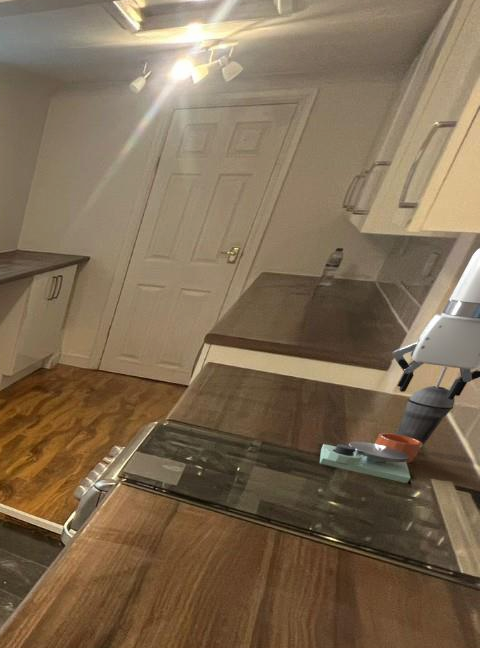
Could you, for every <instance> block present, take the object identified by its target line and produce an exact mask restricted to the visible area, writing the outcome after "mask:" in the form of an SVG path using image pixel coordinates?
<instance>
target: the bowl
mask: <svg viewBox="0 0 480 648" xmlns="http://www.w3.org/2000/svg"><path fill="white" fill-rule="evenodd" d="M373 444H378V445H383V446H387V447H390V448H394V449H397V450H399V451H402V452H404V453H406V454H407V455H408V456H409V458H408V460H407V461H406V462H407V464H409V463H413V462H414V460H415V459H416V456H418V454H419V452H420V450H421V449H422V448H421V446H422V445H423V443H422V442H421V441H419V440H417V439H414V438H411V437H407V436H403V435H398V434H397V433H390V432H381V433H379V434H378V435H377V437H376V439H375V441H374V442H373ZM420 448H421V449H420Z"/></svg>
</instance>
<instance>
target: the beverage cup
mask: <svg viewBox="0 0 480 648" xmlns="http://www.w3.org/2000/svg"><path fill="white" fill-rule="evenodd" d="M447 369H448V367H447V366H443V369H442V371H441V372H440V375H439V377H438V380H437V382H436V384H435V385H433V386H431V385H430V386H426V387H422V388H420V389H419V390H417V391H415V392H414V393H412V395H411V396H410V397H409V398H408V399H407V403H406V406H405V407H406V408H405V412H404V415H403V417H402V419H401V421H400V424H399V427H398V429H397V431H396V434H398V435H403V436H407V437H411V438H414V439H417V440H419V441H421V442H422V443H423V445H422V446H421V448H420V450H421V449H422V448H423V447H424V446H425V444H426V443H427V442H428V440H429V439H430V437H431V436H432V434H433V433H434V432H435V430H436V429H437V428H438V426H439V425H440V423H441V422H442V421H443V420H444V418H445V417H446V416H447V415H448V414H449V413H450V412H451V410H453V409H454V405H455V398H454V399H453V400H451V399H448V398H447V394H448V392H449V390H450V389H447V388H446V387H443V386H440V385H441V382H442V380H443V378H444V376H445V374H446V372H447Z"/></svg>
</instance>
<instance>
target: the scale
mask: <svg viewBox="0 0 480 648" xmlns="http://www.w3.org/2000/svg"><path fill="white" fill-rule="evenodd" d="M336 447H337V446H334V445H330V444H325V443H323V444H322V446H321V449H320V456H319V464H320V465H324V466H328V467H334V468H338V469H341V470H347V471H351V472H356V473H360V474H364V475H369V476H373V477H377V478H382V479H387V480H392V481H396V482H400V483H404V484H409V482H410V480H411V474H410V470H409V467H408V463H407V462H389V461H386V463H385V464H380V463H373V462H370V461H366V460H364V459H362V455H360V454H357V453H355V452H354V453H353V455H352V456H347V455H342V454H339V453H336V452H334V451H335V449H336Z"/></svg>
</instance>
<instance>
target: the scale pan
mask: <svg viewBox="0 0 480 648" xmlns="http://www.w3.org/2000/svg"><path fill="white" fill-rule="evenodd" d="M348 445H349V446H352V447H354V448H356V449H355V451H354V452H355V453H357V454H360V455H362V459H364V460H366V461H370V462H373V463H380V464H385V463H386V461H389V462H406V461H407V460H408V458H409V456H408V455H407V454H406V453H404V452H402V451H399V450H397V449H394V448H390V447H387V446H383V445H378V444H374V442H373V443H372V442H364V441H352V442H350V443H348Z"/></svg>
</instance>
